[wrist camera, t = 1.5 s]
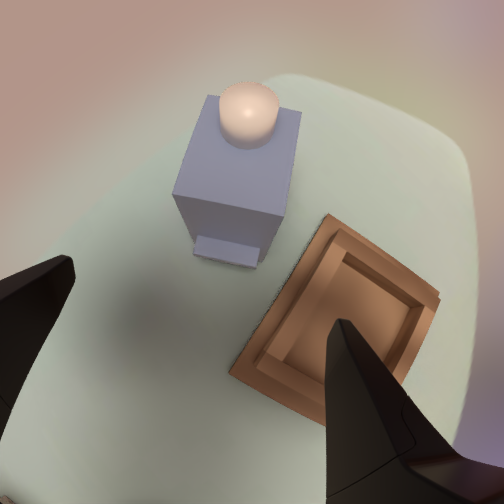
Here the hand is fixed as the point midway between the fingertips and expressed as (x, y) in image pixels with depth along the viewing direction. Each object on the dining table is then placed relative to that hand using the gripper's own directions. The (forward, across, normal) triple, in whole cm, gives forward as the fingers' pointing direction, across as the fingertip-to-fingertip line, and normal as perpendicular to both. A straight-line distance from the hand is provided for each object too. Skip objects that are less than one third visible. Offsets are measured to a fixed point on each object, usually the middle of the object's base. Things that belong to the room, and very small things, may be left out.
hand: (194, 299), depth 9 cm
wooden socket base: (+9, -10, +9) cm, 16 cm away
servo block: (+14, 0, +4) cm, 15 cm away
